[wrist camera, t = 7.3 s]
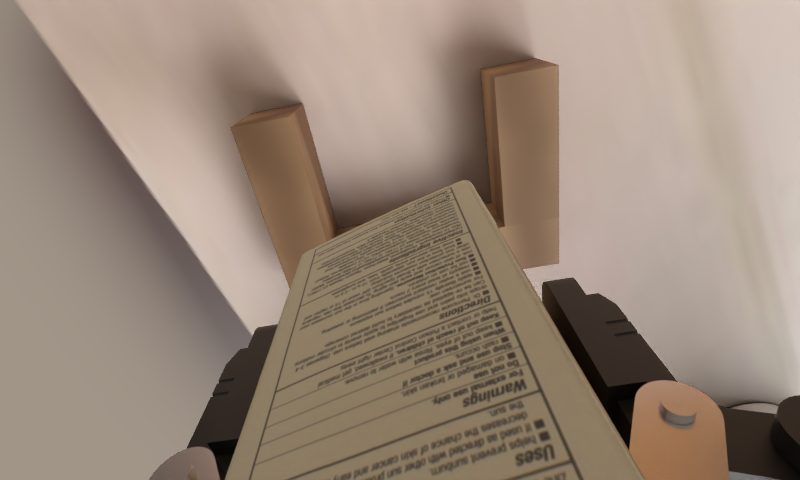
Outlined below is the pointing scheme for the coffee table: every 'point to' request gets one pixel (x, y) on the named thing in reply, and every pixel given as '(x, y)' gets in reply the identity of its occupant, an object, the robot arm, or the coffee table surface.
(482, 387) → the skincare box
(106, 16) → the coffee table surface
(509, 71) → the wooden u-shaped block
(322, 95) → the coffee table surface
